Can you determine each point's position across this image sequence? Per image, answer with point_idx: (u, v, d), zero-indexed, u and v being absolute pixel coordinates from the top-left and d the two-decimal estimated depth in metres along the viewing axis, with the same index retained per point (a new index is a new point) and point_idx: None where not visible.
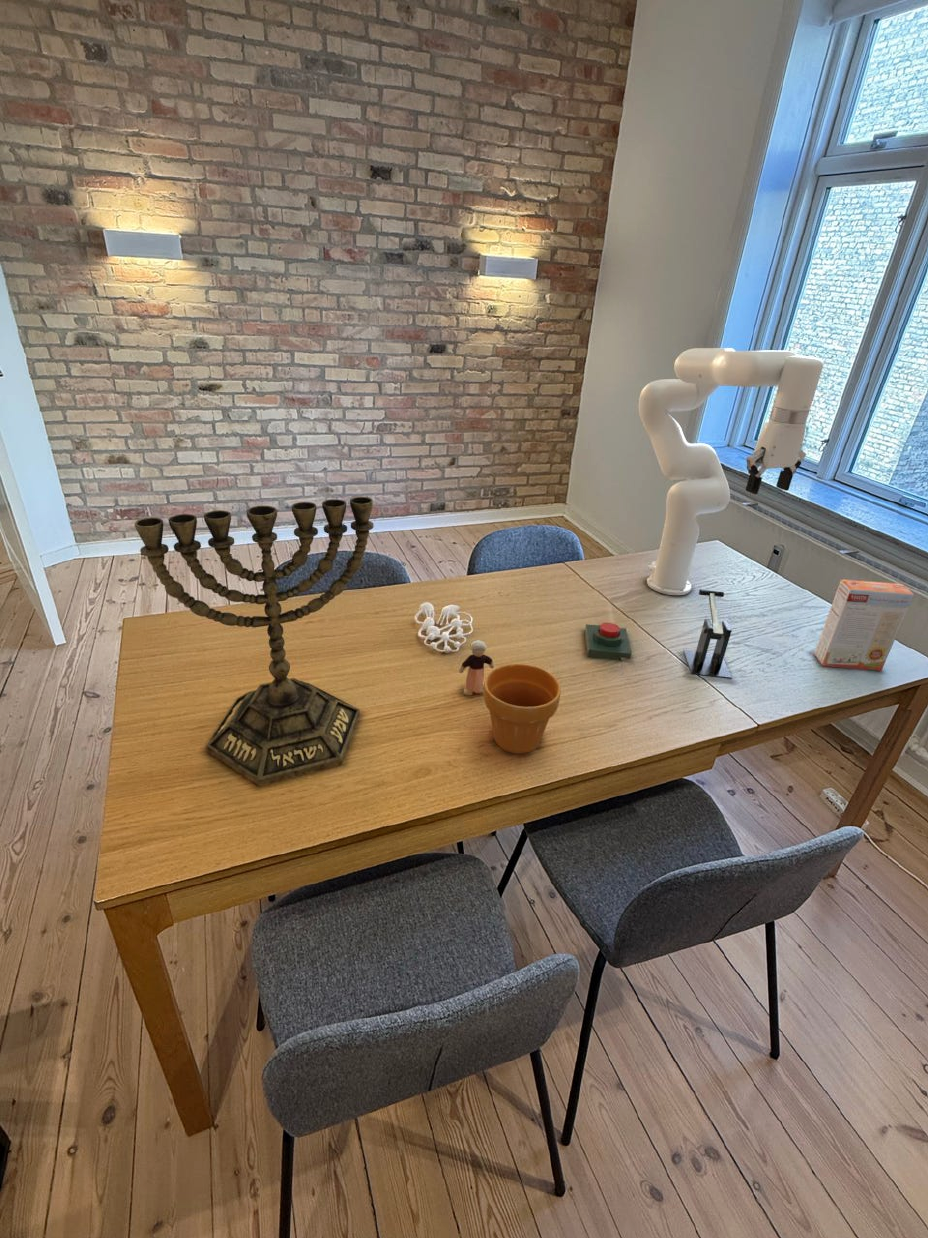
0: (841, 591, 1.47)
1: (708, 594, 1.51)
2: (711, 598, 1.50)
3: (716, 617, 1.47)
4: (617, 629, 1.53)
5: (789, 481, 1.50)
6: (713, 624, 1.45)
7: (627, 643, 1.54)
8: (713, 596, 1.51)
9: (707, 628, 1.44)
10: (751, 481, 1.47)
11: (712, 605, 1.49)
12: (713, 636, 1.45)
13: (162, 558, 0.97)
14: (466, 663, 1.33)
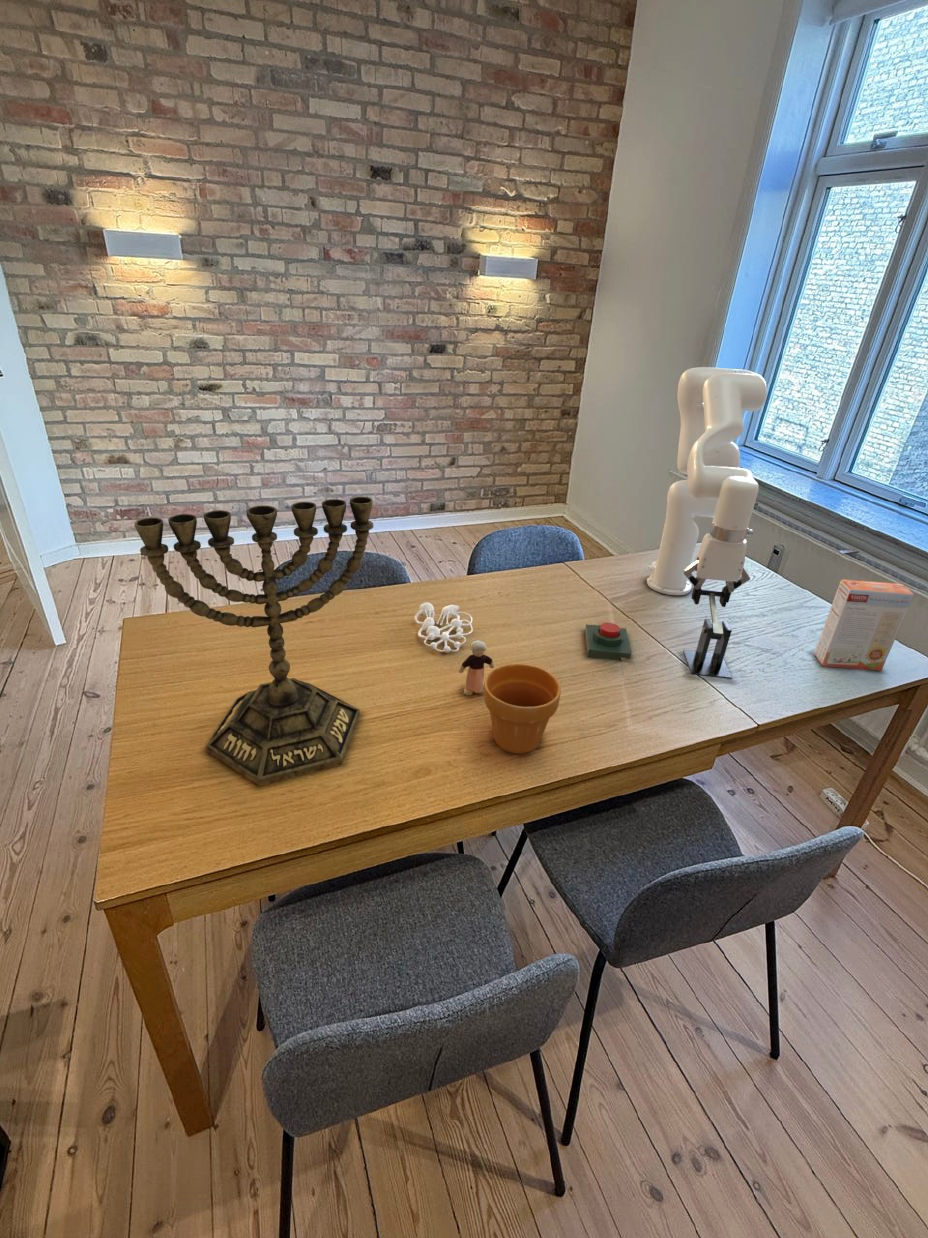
0: (841, 591, 1.47)
1: (708, 594, 1.51)
2: (711, 598, 1.50)
3: (716, 617, 1.47)
4: (617, 629, 1.53)
5: (725, 598, 1.50)
6: (713, 624, 1.45)
7: (627, 643, 1.54)
8: (713, 596, 1.51)
9: (707, 628, 1.44)
10: (693, 591, 1.52)
11: (712, 605, 1.49)
12: (713, 636, 1.45)
13: (162, 558, 0.97)
14: (466, 663, 1.33)
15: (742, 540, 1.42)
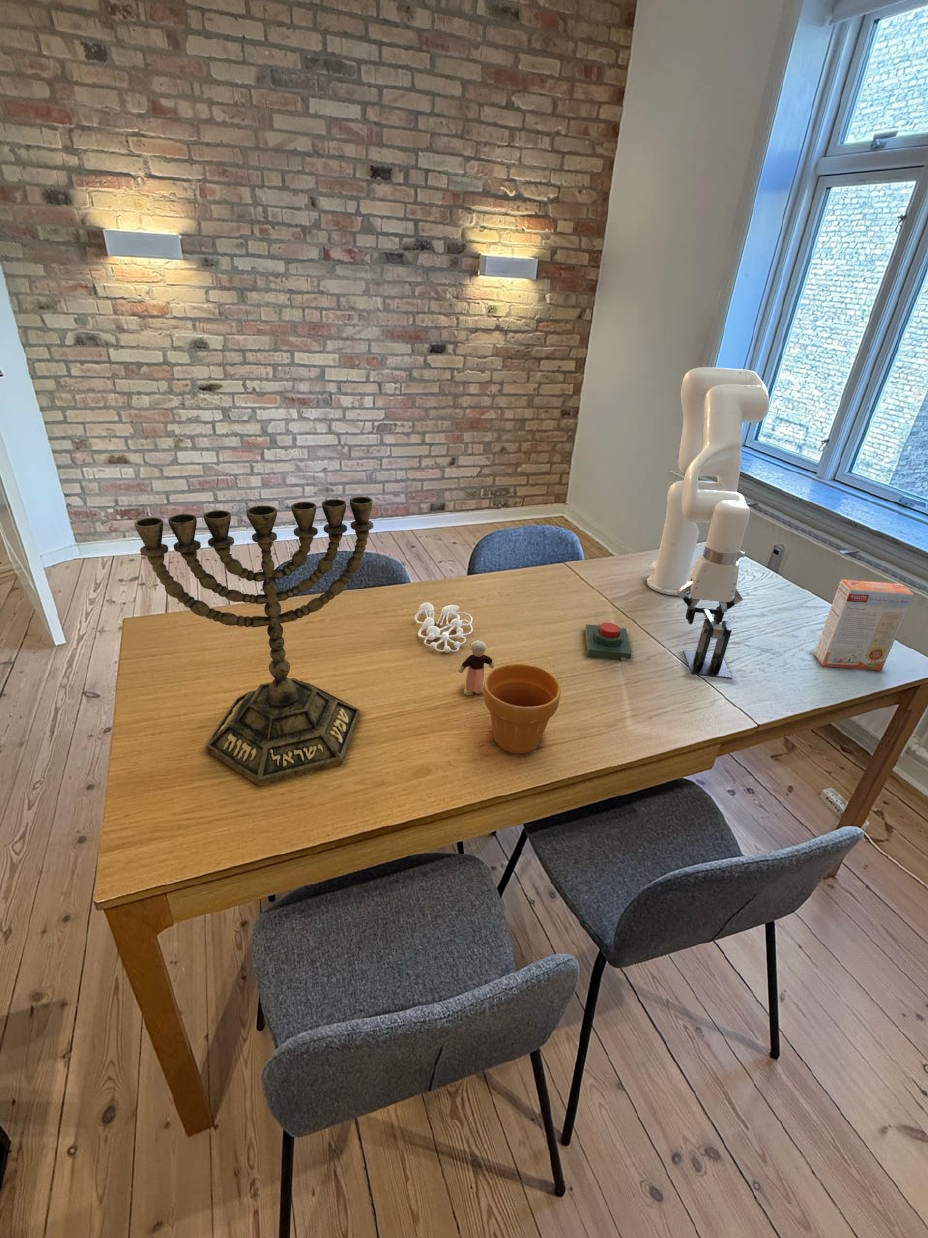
0: (841, 591, 1.47)
1: (702, 610, 1.55)
2: (706, 612, 1.53)
3: (714, 622, 1.48)
4: (617, 629, 1.53)
5: (718, 618, 1.54)
6: (712, 624, 1.46)
7: (627, 643, 1.54)
8: (707, 611, 1.54)
9: (707, 628, 1.44)
10: (687, 611, 1.56)
11: (708, 615, 1.51)
12: (714, 634, 1.44)
13: (162, 558, 0.97)
14: (466, 663, 1.33)
15: (734, 562, 1.46)
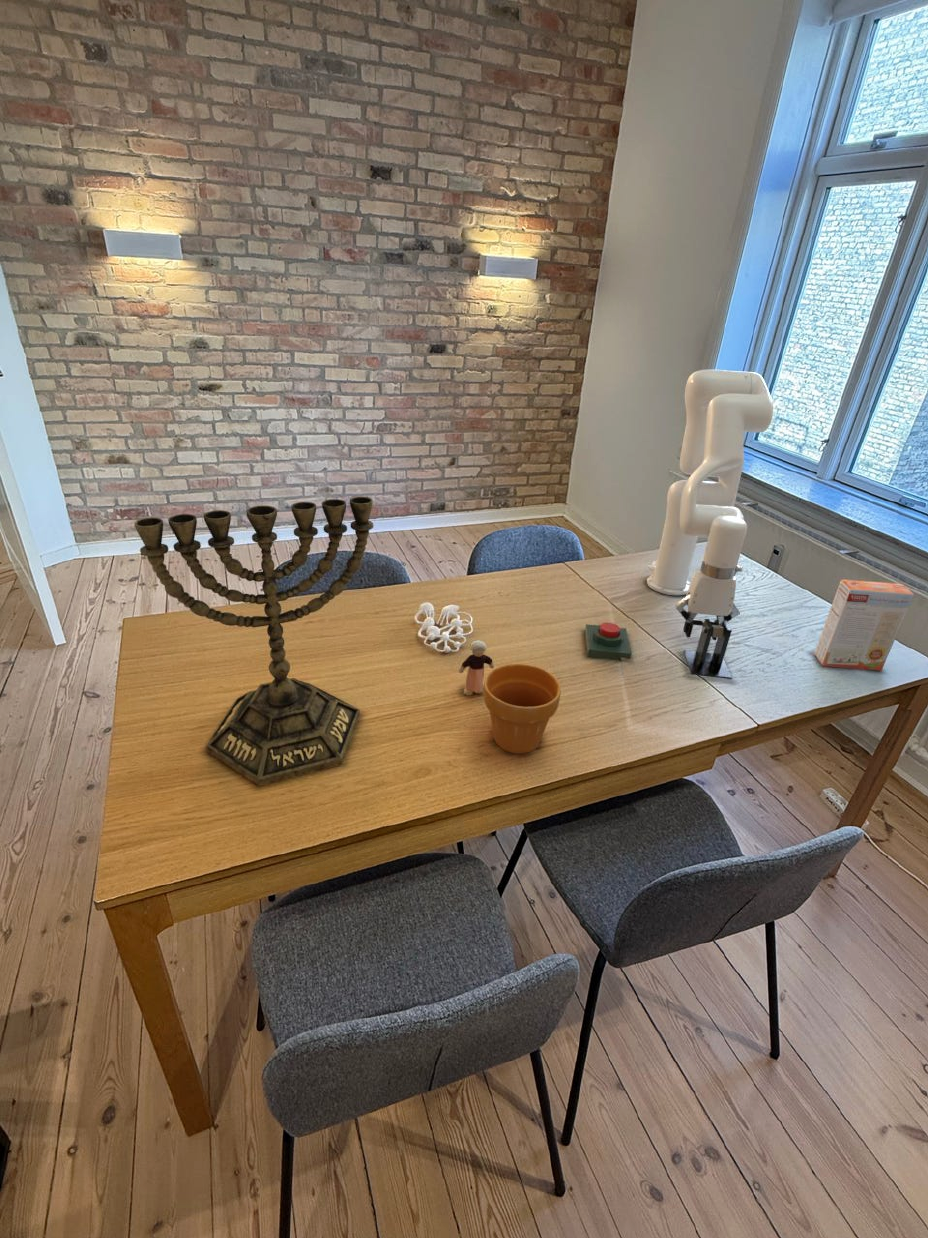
0: (841, 591, 1.47)
1: (700, 622, 1.56)
2: None
3: None
4: (617, 629, 1.53)
5: None
6: None
7: (627, 643, 1.54)
8: None
9: (707, 628, 1.44)
10: (685, 624, 1.56)
11: None
12: (714, 632, 1.44)
13: (162, 558, 0.97)
14: (466, 663, 1.33)
15: (732, 577, 1.47)
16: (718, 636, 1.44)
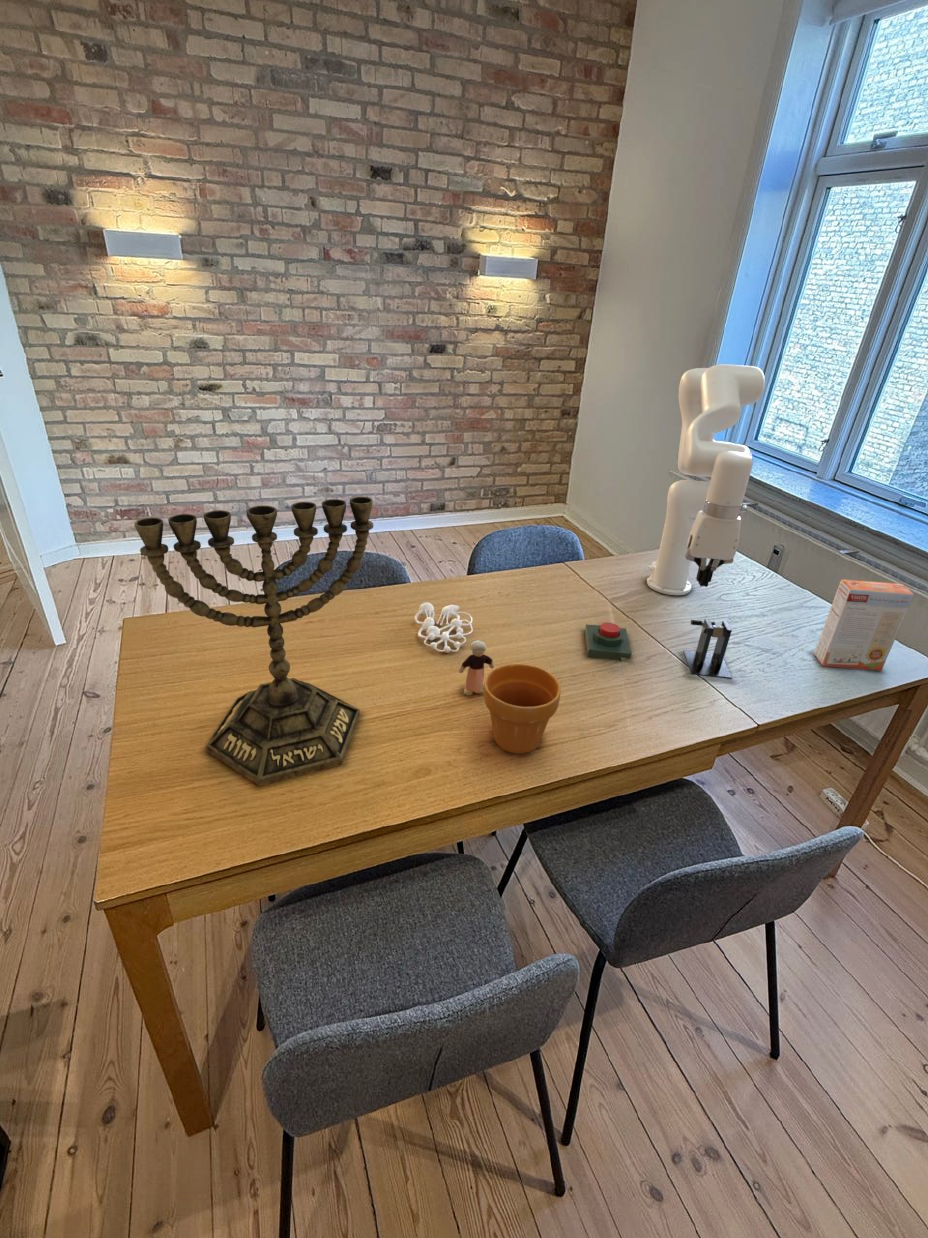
0: (841, 591, 1.47)
1: (700, 622, 1.56)
2: None
3: None
4: (617, 629, 1.53)
5: (707, 577, 1.48)
6: None
7: (627, 643, 1.54)
8: None
9: (707, 628, 1.44)
10: (698, 572, 1.49)
11: None
12: (714, 632, 1.44)
13: (162, 558, 0.97)
14: (466, 663, 1.33)
15: (736, 516, 1.39)
16: (718, 636, 1.44)
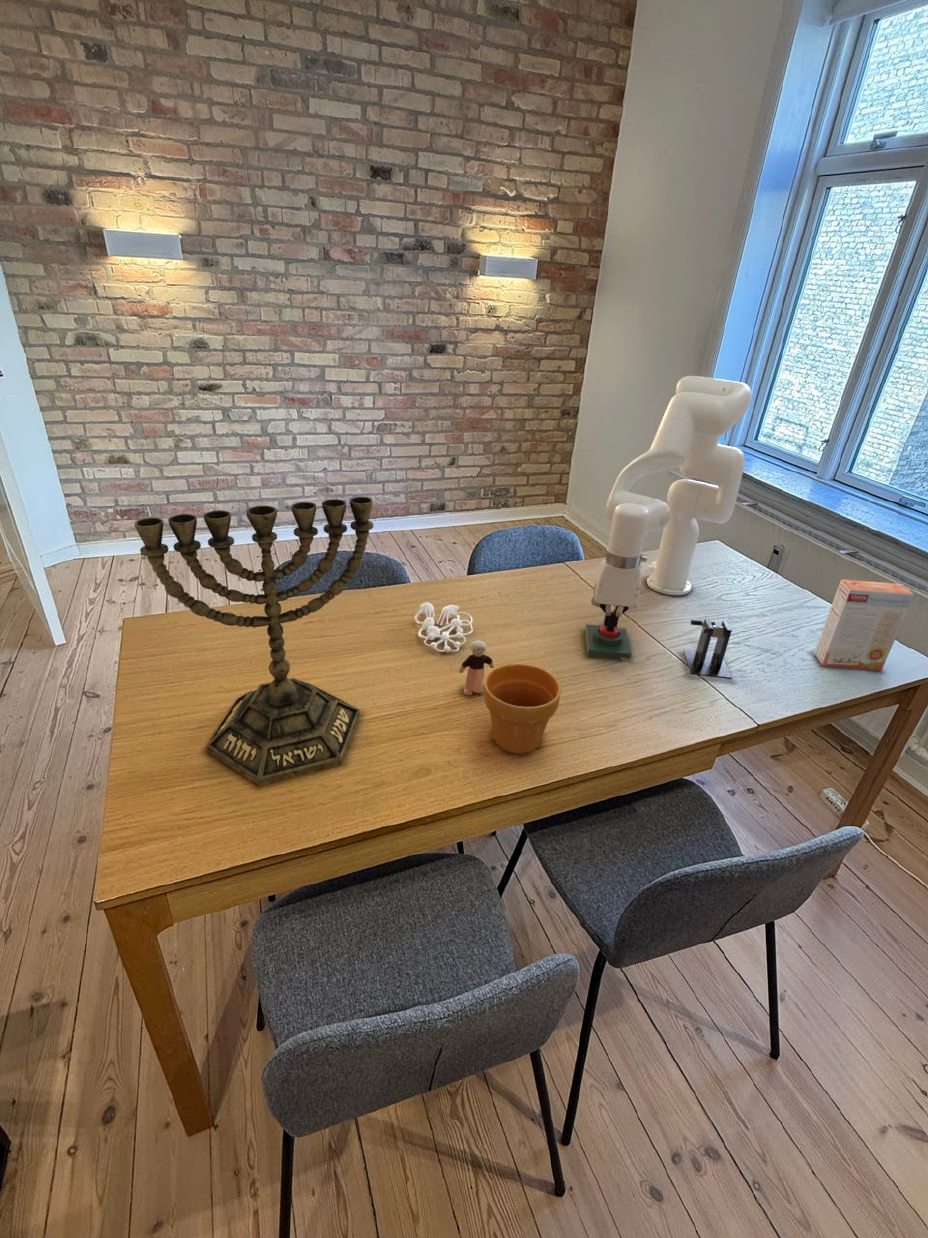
0: (841, 591, 1.47)
1: (700, 622, 1.56)
2: None
3: None
4: (617, 630, 1.53)
5: (613, 623, 1.52)
6: None
7: (627, 643, 1.54)
8: None
9: (707, 628, 1.44)
10: (605, 617, 1.53)
11: None
12: (714, 632, 1.44)
13: (162, 558, 0.97)
14: (466, 663, 1.33)
15: (635, 566, 1.43)
16: (718, 636, 1.44)
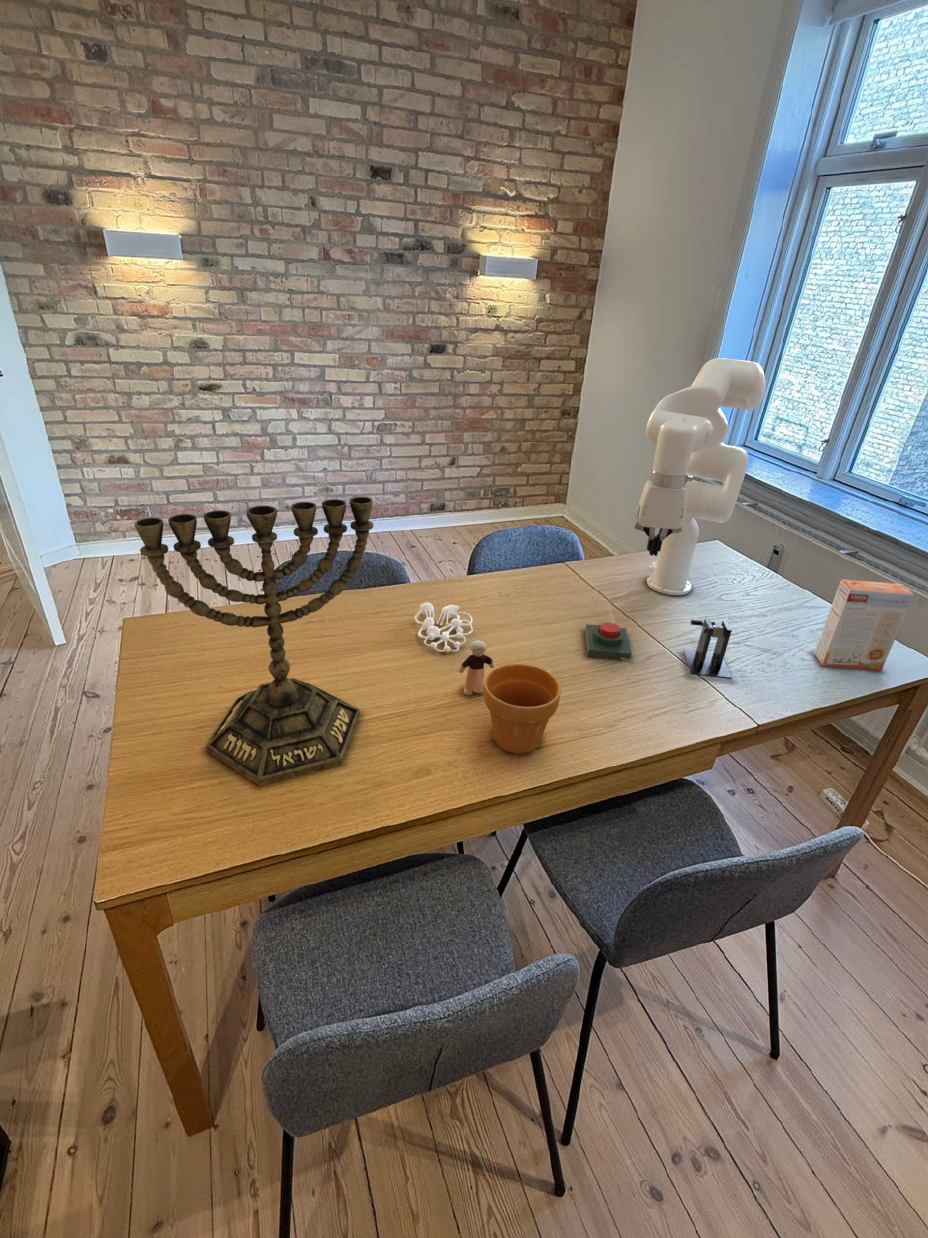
0: (841, 591, 1.47)
1: (700, 622, 1.56)
2: None
3: None
4: (617, 629, 1.53)
5: (656, 546, 1.50)
6: None
7: (627, 643, 1.54)
8: None
9: (707, 628, 1.44)
10: (648, 542, 1.52)
11: None
12: (714, 632, 1.44)
13: (162, 558, 0.97)
14: (466, 663, 1.33)
15: (681, 486, 1.41)
16: (718, 636, 1.44)
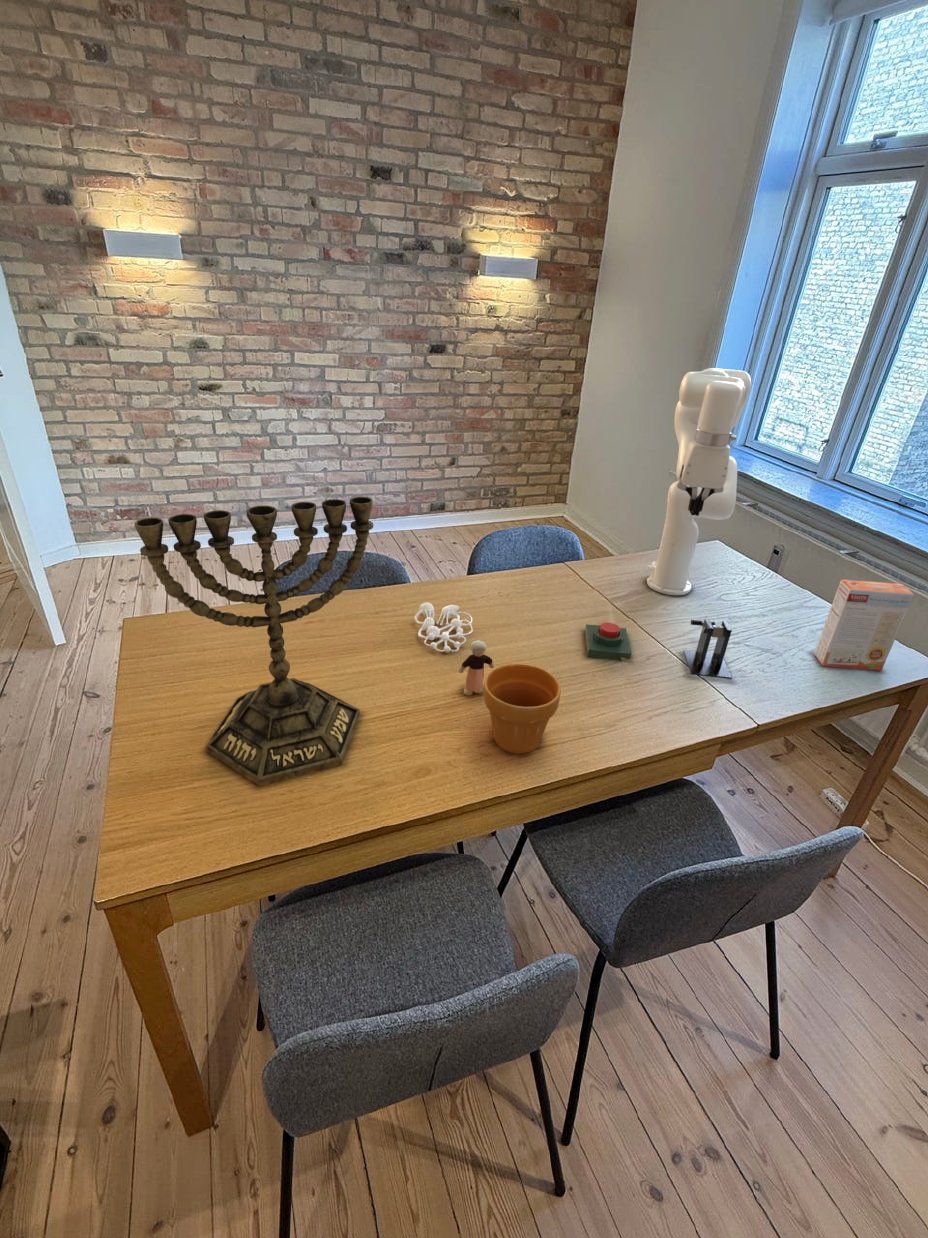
0: (841, 591, 1.47)
1: (700, 622, 1.56)
2: None
3: None
4: (617, 629, 1.53)
5: (698, 506, 1.55)
6: None
7: (627, 643, 1.54)
8: None
9: (707, 628, 1.44)
10: (690, 502, 1.56)
11: None
12: (714, 632, 1.44)
13: (162, 558, 0.97)
14: (466, 663, 1.33)
15: (725, 444, 1.46)
16: (718, 636, 1.44)
